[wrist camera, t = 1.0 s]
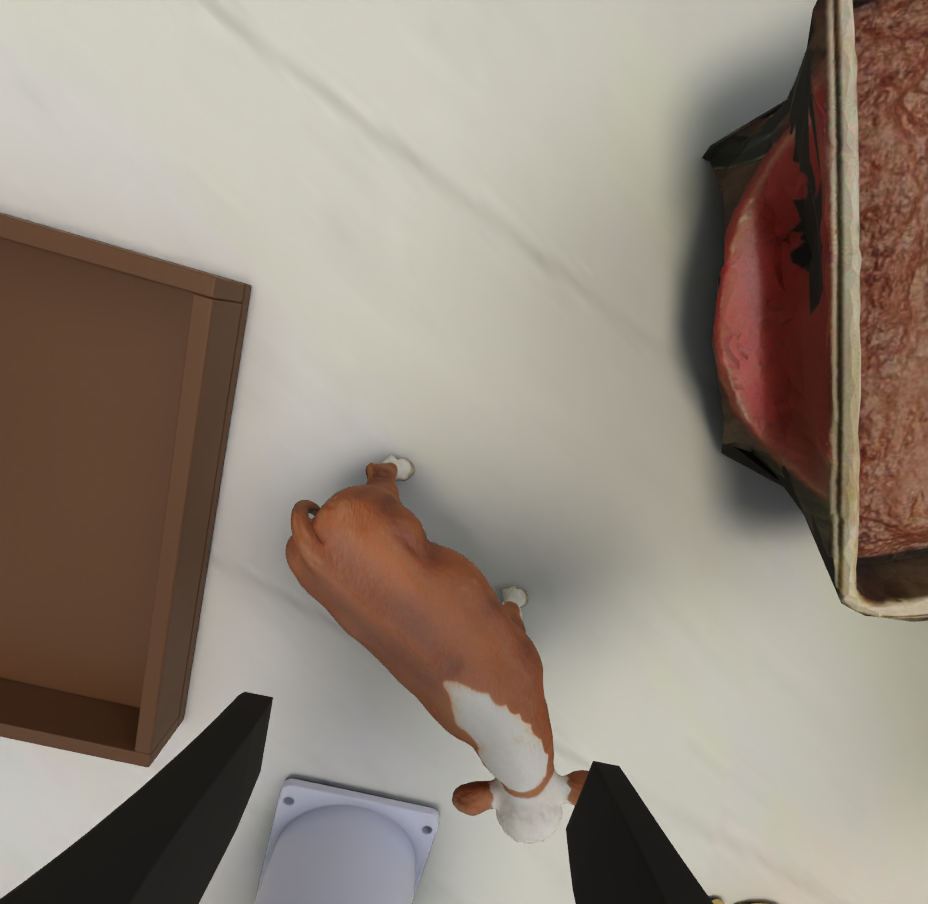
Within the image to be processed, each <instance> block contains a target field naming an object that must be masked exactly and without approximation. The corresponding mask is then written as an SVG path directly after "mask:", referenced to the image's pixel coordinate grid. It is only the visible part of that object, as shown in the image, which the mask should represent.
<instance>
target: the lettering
mask: <svg viewBox="0 0 928 904" xmlns="http://www.w3.org/2000/svg"><path fill="white" fill-rule="evenodd" d="M711 901H712V902H713V903H714V904H724V902H723V901H721V900H718V899H715V900H711ZM753 904H767V903H753Z"/></svg>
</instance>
